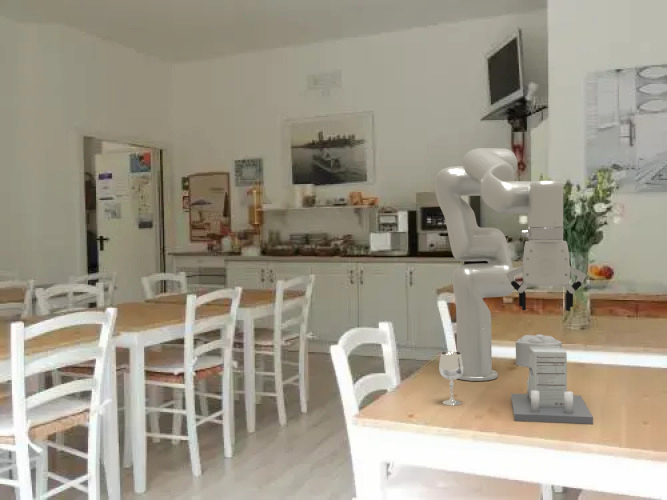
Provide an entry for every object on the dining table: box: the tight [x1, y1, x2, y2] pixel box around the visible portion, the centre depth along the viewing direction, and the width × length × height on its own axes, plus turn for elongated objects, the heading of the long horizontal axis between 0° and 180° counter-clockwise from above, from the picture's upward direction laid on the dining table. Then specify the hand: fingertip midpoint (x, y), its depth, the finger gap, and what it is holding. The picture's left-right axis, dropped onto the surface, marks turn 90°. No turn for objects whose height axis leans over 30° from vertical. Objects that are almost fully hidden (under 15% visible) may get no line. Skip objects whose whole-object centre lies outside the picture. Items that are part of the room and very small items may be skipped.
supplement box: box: [528, 346, 568, 407], centre depth 153 cm, size 7×7×13 cm
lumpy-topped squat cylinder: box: [515, 333, 563, 368], centre depth 202 cm, size 10×13×9 cm
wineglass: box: [438, 350, 464, 406], centre depth 160 cm, size 6×6×12 cm
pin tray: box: [510, 377, 594, 425], centre depth 152 cm, size 16×18×6 cm
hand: (545, 310), depth 153 cm, fingers open, 9 cm apart
